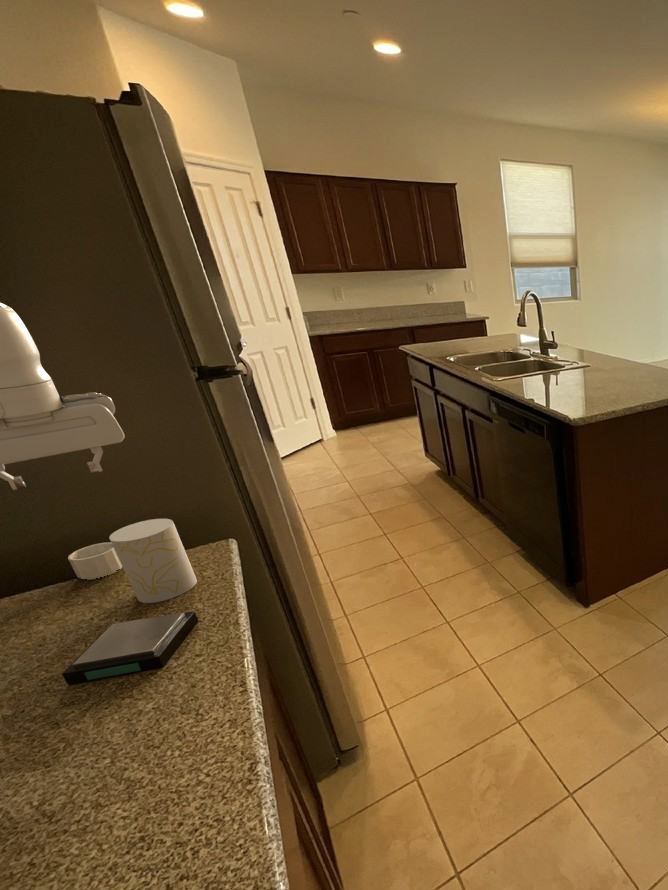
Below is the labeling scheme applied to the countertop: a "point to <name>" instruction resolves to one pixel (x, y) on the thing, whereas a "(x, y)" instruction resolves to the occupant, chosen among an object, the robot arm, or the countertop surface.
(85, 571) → the bowl
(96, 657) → the scale
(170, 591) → the cup
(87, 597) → the countertop surface
